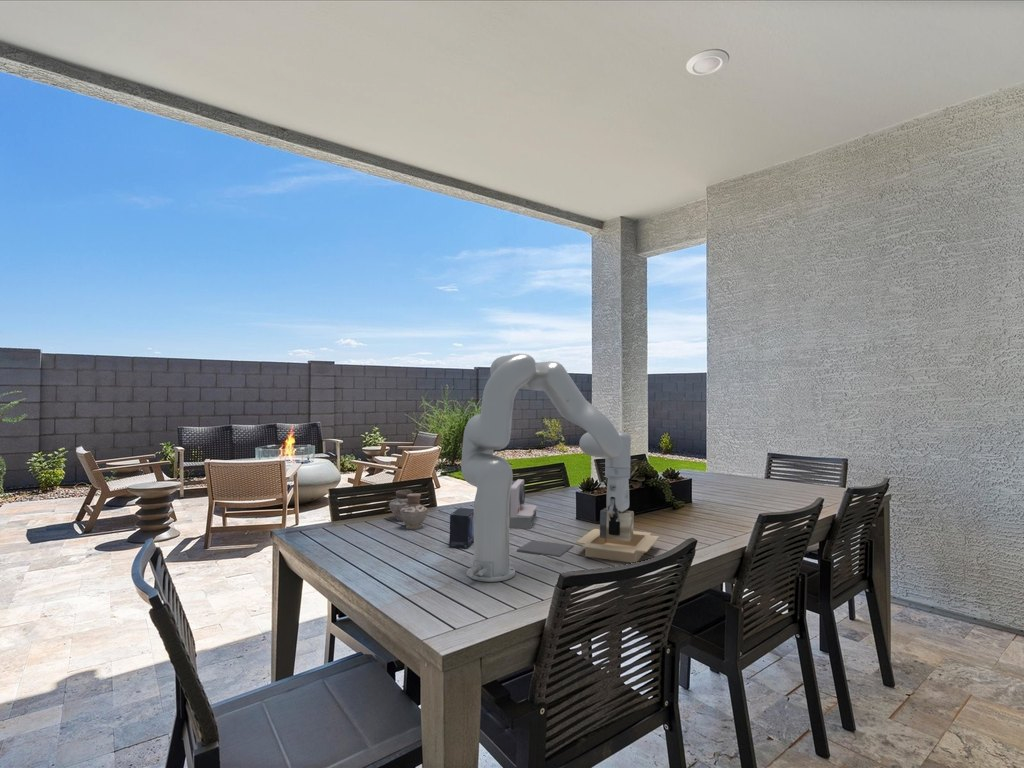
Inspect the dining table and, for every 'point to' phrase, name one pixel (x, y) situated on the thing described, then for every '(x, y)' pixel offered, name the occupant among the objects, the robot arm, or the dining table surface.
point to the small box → (461, 528)
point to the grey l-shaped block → (520, 507)
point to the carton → (617, 546)
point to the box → (625, 525)
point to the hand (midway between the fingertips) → (616, 532)
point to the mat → (545, 548)
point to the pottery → (408, 509)
